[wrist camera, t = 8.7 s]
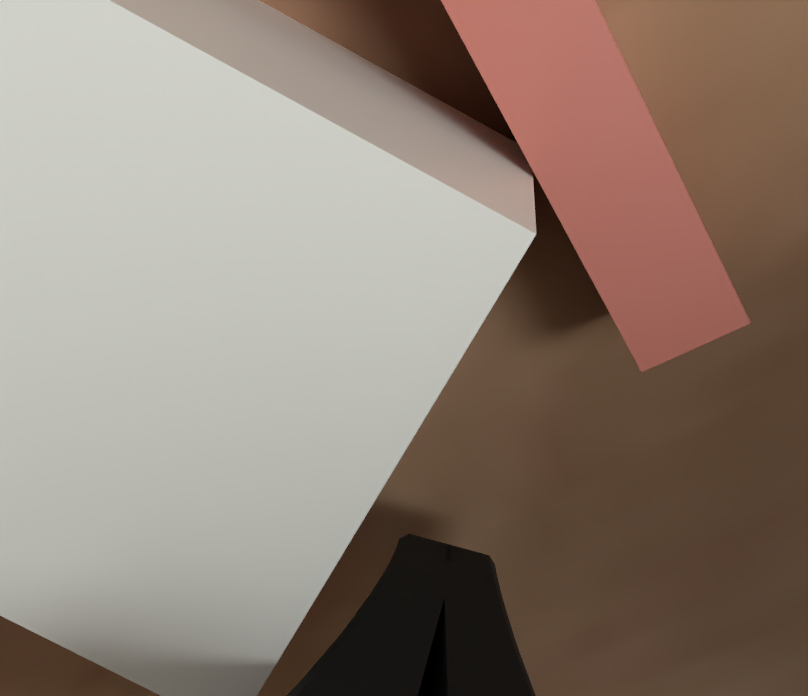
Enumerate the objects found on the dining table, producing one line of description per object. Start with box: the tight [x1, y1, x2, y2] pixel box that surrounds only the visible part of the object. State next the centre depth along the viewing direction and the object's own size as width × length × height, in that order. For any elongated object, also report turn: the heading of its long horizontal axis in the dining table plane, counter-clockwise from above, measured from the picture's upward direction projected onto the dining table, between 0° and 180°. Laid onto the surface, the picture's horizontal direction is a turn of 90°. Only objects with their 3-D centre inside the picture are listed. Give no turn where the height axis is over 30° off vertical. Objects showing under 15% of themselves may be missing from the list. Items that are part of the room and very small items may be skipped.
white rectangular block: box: [0, 0, 536, 696], centre depth 8 cm, size 4×6×4 cm
